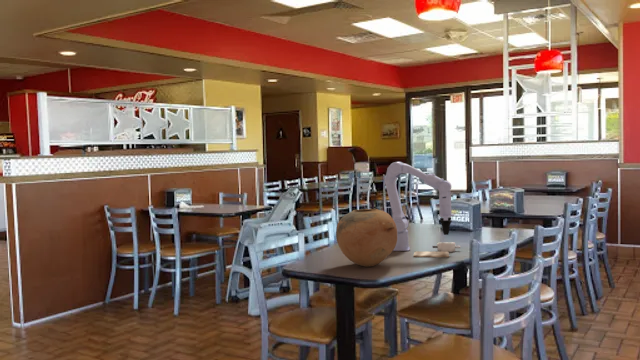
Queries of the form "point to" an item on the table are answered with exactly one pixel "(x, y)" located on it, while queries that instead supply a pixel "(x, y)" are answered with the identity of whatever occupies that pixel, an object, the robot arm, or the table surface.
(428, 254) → the pad
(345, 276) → the table surface
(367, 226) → the pot
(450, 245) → the connector
